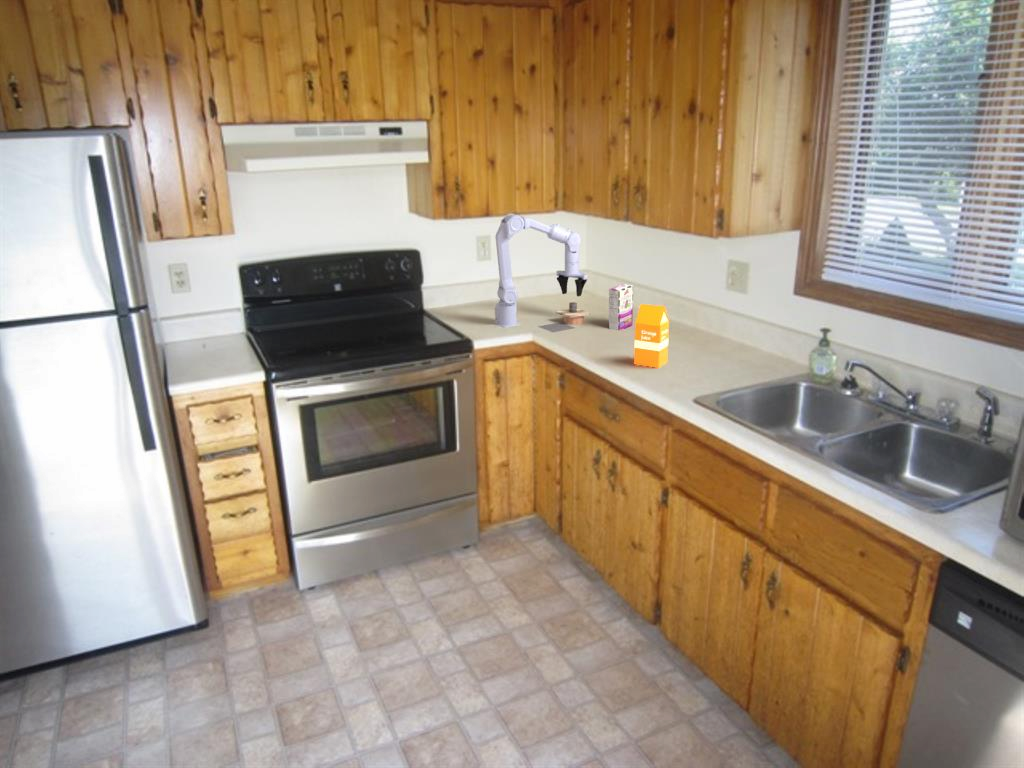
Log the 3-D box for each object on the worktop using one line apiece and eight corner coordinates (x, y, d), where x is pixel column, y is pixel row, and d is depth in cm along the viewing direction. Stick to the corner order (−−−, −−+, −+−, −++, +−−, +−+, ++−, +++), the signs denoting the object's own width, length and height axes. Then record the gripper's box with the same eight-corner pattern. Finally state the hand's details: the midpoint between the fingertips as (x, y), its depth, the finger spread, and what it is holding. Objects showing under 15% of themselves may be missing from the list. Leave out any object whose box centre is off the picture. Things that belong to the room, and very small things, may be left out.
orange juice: (643, 358, 253) (645, 301, 247) (667, 362, 249) (670, 304, 242) (633, 364, 247) (635, 306, 241) (658, 368, 243) (660, 309, 236)
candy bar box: (621, 323, 299) (622, 283, 294) (632, 325, 296) (634, 284, 291) (607, 329, 291) (608, 288, 286) (618, 331, 288) (619, 289, 283)
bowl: (560, 322, 304) (560, 313, 302) (575, 319, 308) (576, 310, 306) (571, 326, 297) (571, 316, 296) (587, 323, 301) (587, 314, 300)
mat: (537, 327, 297) (537, 326, 296) (560, 323, 302) (560, 322, 302) (553, 333, 288) (553, 332, 288) (576, 328, 293) (576, 327, 293)
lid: (555, 313, 302) (555, 302, 301) (575, 309, 307) (575, 299, 306) (570, 317, 294) (570, 307, 293) (590, 314, 299) (590, 303, 298)
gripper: (592, 262, 298) (591, 295, 302) (564, 258, 307) (564, 291, 312) (581, 264, 293) (581, 298, 297) (553, 261, 302) (553, 293, 307)
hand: (571, 294), depth 304 cm, fingers open, 7 cm apart
